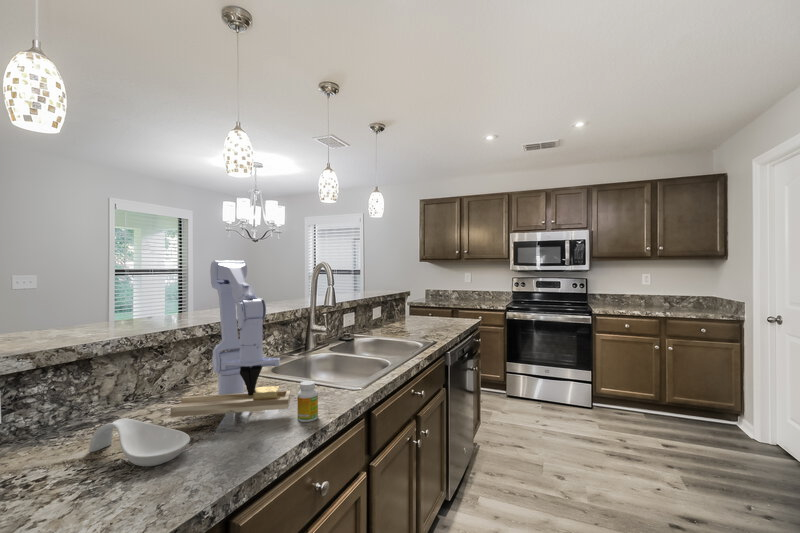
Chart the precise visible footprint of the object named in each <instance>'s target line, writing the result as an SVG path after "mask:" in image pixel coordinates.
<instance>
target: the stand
mask: <svg viewBox="0 0 800 533" xmlns="http://www.w3.org/2000/svg"><path fill="white" fill-rule="evenodd" d="M251 414H252V411H249V412H235V411H227V412H226V413H224V417H223V419H222V420H221V421H220V423H219V425H218V426H217V427H216V429H215V432H216V434H220V433H230V432H233V433H234V432H241V431H243V429H244V428H245V426H246V424H247V421H248V419H249V418H250V416H251Z"/></svg>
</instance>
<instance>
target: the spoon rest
mask: <svg viewBox="0 0 800 533" xmlns="http://www.w3.org/2000/svg"><path fill="white" fill-rule="evenodd" d="M114 429H116V431H117V433H118V437H119V438H118V439H119V444H120V448H121V451H122V453H123V455H124V457H125V458H126V459H127V460H128V461H129V462H130V463H132V464H133V465H136V466H139V467H144V466H149V467H155V466H159V465H162V464H165V463H168V462H169V461H172V460H174V459H175V458H176V457H178V456H179V455H180V454H182V453H183V451H184V450H186V449H187V446H189V444H190V442H191V437H190V435H189V434H187V432H184V431H181V430H178V429H174V428H170V427H165V426H162V425H157V424H153V423H148V422H145V421H141V420H138V419H132V418H127V417H125V418H119V419H116V420H114V421H113V422H108V423H105V424H103V425H102V426H100V427H99V428H98V429H97V430H96V432H94V434H93V435H92V437H91V439H90V443H89V447H88V453H95V452H97V451H100V450H102V449H104V448H107V447H109V446H110V445H112V444H113V443H112V442H113V441H112V440H113V430H114Z"/></svg>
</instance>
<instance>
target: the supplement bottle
mask: <svg viewBox="0 0 800 533" xmlns="http://www.w3.org/2000/svg"><path fill="white" fill-rule="evenodd" d="M318 392H319V391H318V390H317V389H316V382H315V381H313V380H304V381H301V382H300V383H299V391H298V392H297V420H298V421H299V422H301V423H308V422H309V423H310V422H314V421H315V420H317V419H318V417H319V393H318Z"/></svg>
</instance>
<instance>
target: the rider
mask: <svg viewBox="0 0 800 533" xmlns="http://www.w3.org/2000/svg"><path fill="white" fill-rule="evenodd" d="M279 391H280V385H275V386H274V385H272V386H259V387H257V386H256V387H255V391H254V393H253V401H255V400H269V399H279Z"/></svg>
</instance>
